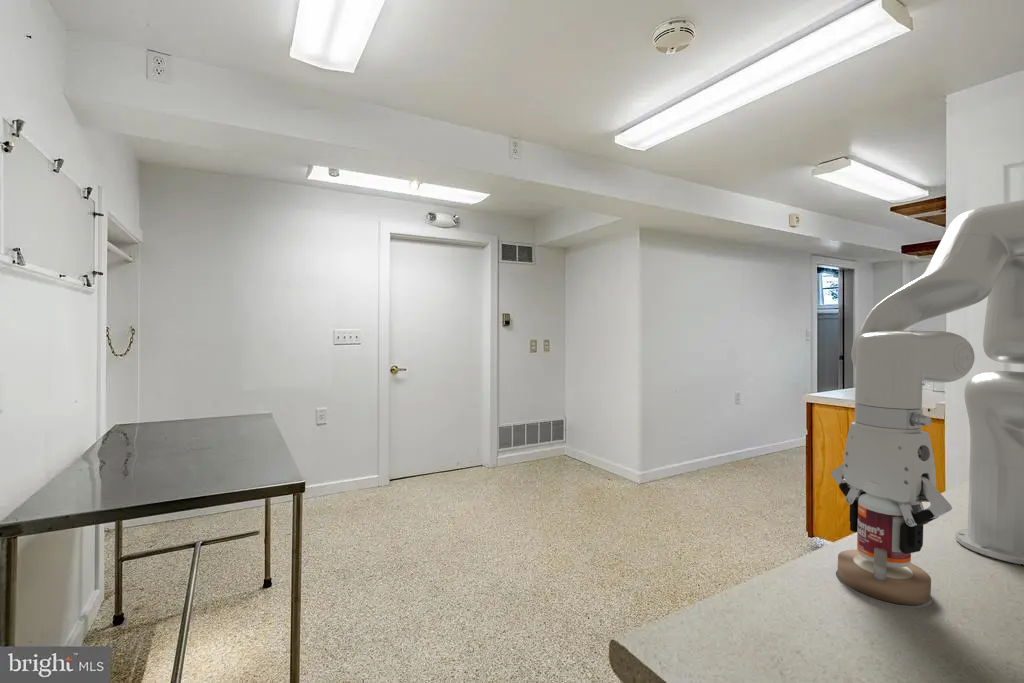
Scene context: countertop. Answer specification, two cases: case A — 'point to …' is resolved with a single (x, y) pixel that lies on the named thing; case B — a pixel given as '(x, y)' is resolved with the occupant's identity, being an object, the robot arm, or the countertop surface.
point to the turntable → (884, 578)
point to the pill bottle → (880, 526)
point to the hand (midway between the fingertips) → (883, 539)
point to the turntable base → (883, 600)
